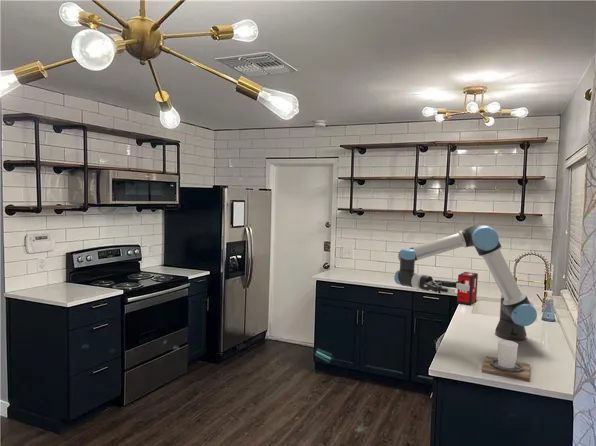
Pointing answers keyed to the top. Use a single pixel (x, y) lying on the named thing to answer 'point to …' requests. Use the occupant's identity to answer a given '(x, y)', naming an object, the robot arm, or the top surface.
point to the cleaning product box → (469, 296)
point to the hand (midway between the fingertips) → (462, 289)
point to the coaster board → (507, 369)
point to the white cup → (507, 353)
